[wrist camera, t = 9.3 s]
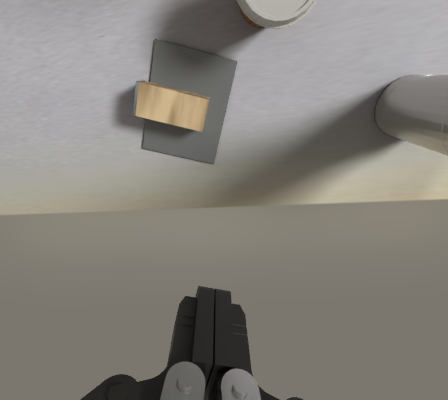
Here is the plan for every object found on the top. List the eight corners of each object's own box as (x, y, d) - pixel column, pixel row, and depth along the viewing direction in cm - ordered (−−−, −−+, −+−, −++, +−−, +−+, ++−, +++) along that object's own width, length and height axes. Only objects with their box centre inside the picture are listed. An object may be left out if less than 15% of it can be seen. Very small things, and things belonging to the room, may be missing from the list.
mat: (237, 61, 39) (237, 61, 39) (213, 163, 46) (213, 163, 46) (155, 39, 38) (154, 38, 38) (143, 147, 44) (142, 148, 44)
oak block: (144, 80, 40) (209, 97, 41) (141, 111, 42) (203, 126, 43) (135, 81, 36) (208, 99, 37) (132, 115, 38) (202, 131, 39)
